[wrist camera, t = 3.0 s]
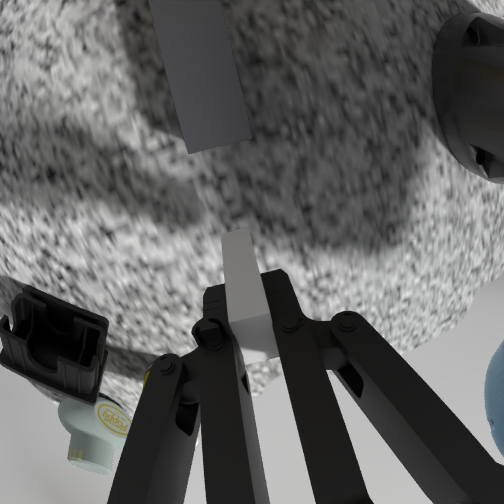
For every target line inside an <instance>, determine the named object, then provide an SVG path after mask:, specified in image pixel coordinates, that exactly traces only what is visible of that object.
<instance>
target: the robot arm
mask: <svg viewBox="0 0 504 504" xmlns="http://www.w3.org/2000/svg"><path fill="white" fill-rule="evenodd" d="M433 91H434V99H435V105H436V110H437V114H438V118H439V122H440V125H441V128H442V131H443V134H444V137H445V139H446V141H447V143H448V145H449V147H450V149H451V151H452V153H453V154H454V156H455V157H456V158H457V160H458V161H459V162H460V163H461V164H462V165H463V166H464V167H465V168H466V169H468V170H469V171H471V172H473V173H475V174H476V175H478V176H480V177H482V178H484V179H486V180H488V181H490V182H494V183H498V184H504V19H501V18H499V17H496V16H493V15H490V14H485V13H468V14H459V15H456V16H454V17H452V18H451V19H450V20H449V21H447V23H446V24H445V25H444V26H443V28H442V30H441V31H440V33H439V36H438V38H437V42H436V45H435V50H434V56H433ZM221 241H222V254H223V266H224V278H225V283H224V284H220V285H216V286H212V287H207V289H206V291H205V293H204V295H203V318H202V319H200V320H199V321H198V322H196V324H195V325H194V326H193V328H192V332H191V333H192V335H193V337H194V339H195V341H196V342H197V344H198V347H197V348H196V349H195V350H194V351H192V352H190V353H188V354H186V355H184V356H182V357H179V356H178V355H176V354H172V353H169V354H164V355H162V356H160V357H158V358H157V359H156V360H155V361H154V363H153V364H152V366H151V369H150V372H149V374H148V377H147V380H146V383H145V385H144V388H143V391H142V394H141V397H140V399H139V402H138V405H137V408H136V411H135V414H134V417H133V420H132V423H131V426H130V429H129V432H128V435H127V438H126V441H125V444H124V447H123V451H122V454H121V457H120V460H119V463H118V467H117V470H116V473H115V477H114V480H113V484H112V487H111V491H110V495H109V498H108V502H107V504H183V503H184V498H185V493H186V488H187V484H188V478H189V474H190V469H191V465H192V460H193V455H194V451H195V446H196V441H197V437H198V432H199V427H200V423H201V435H202V452H203V465H204V478H205V491H206V501H207V504H270V501H269V496H268V491H267V485H266V480H265V474H264V468H263V463H262V457H261V451H260V446H259V440H258V434H257V428H256V423H255V416H254V410H253V405H252V398H251V391H250V385H249V379H248V374H247V372H246V370H245V364H250V363H255V362H259V361H264V360H268V359H272V358H276V357H280V360H281V364H282V368H283V372H284V376H285V380H286V384H287V388H288V392H289V396H290V400H291V404H292V409H293V412H294V417H295V421H296V425H297V429H298V433H299V437H300V441H301V445H302V449H303V453H304V457H305V461H306V465H307V469H308V474H309V478H310V481H311V486H312V490H313V494H314V498H315V502H316V504H374V503H373V502H372V500H371V499H370V497H369V495H368V492H367V489H366V486H365V483H364V480H363V477H362V474H361V470H360V467H359V464H358V461H357V458H356V455H355V453H354V449H353V446H352V443H351V440H350V437H349V434H348V431H347V428H346V425H345V423H344V419H343V417H342V414H341V411H340V408H339V405H338V402H337V399H336V397H335V394H334V391H333V388H332V385H331V382H330V380H329V377H328V374H327V371H326V370H332V371H333V372H334V374H335V375H336V376H337V378H338V379H339V380H340V382H341V383H342V385H343V386H344V387H345V389H346V390H347V391H348V392H349V394H350V395H351V396H352V398H353V399H354V401H355V402H356V403H357V405H358V406H359V407H360V409H361V410H362V411H363V413H364V414H365V415H366V416H367V418H368V419H369V421H370V422H371V423H372V425H373V426H374V427H375V429H376V430H377V431H378V433H379V434H380V435H381V437H382V438H383V439H384V440H385V442H386V443H387V444H388V446H389V447H390V448H391V450H392V451H393V452H394V454H395V455H396V456H397V458H398V459H399V460H400V462H401V463H402V464H403V466H404V467H405V468H406V470H407V471H408V472H409V473H410V475H411V476H412V477H413V479H414V480H415V481H416V483H417V484H418V485H419V487H420V488H421V489H422V491H423V492H424V493H425V494H426V496H427V497H428V498H429V499H430V500H431V501H432V502H433V504H504V466H503V465H501V464H499V463H496V462H495V461H494V459H493V458H492V457H491V456H490V455H489V453H488V452H487V451H486V450H485V449H484V447H483V446H482V445H481V444H480V443H479V442H478V440H477V439H476V438H475V437H474V436H473V435H472V433H471V432H470V431H469V430H468V429H467V428H466V427H465V425H464V424H463V423H462V422H461V421H460V420H459V419H458V418H457V416H456V415H455V414H454V413H453V412H452V411H451V410H450V409H449V408H448V406H447V405H446V404H445V403H444V402H443V401H442V400H441V399H440V397H439V396H438V395H437V394H436V393H435V392H434V391H433V390H432V389H431V388H430V387H429V386H428V385H427V383H426V382H425V381H424V380H423V379H422V378H421V377H420V376H419V375H418V374H417V373H416V372H415V370H413V368H412V367H411V366H410V365H409V364H408V363H407V362H406V361H405V360H404V359H403V358H402V357H401V356H400V355H399V354H398V353H397V351H396V350H395V349H394V348H393V347H392V346H391V345H390V344H389V343H388V342H387V341H386V340H385V339H384V338H383V337H382V336H381V335H380V334H379V333H378V332H377V331H376V330H375V329H374V328H373V327H372V326H371V325H370V324H369V323H368V322H367V321H366V320H365V319H364V318H363V317H362V316H361V315H360V314H358V313H357V312H353V311H343V312H340V313H337V314H336V315H335V316H333V317H332V319H331V321H315V320H312V319H309V318H308V317H306V316H305V315H304V314H303V312H302V310H301V308H300V305H299V302H298V300H297V297H296V295H295V292H294V289H293V287H292V284H291V282H290V279H289V276H288V274H287V273H286V272H284V271H283V270H282V269H277V270H274V271H270V272H266V273H262V274H260V272H259V268H258V264H257V260H256V256H255V253H254V249H253V245H252V241H251V237H250V233H249V229H248V227H247V228H243V229H239V230H235V231H231V232H227V233H223V234H221ZM244 361H245V364H244ZM484 390H485V391H484V393H485V394H484V396H485V409H486V415H487V420H488V422H489V424H490V426H491V434H492V437H493V439H494V441H495V443H496V445H497V447H498V449H499V451H500V452H501V454H502V455H503V457H504V340H503V342H502V343H501V345H500V346H499V348H498V349H497V351H496V352H495V354H494V355H493V357H492V359H491V361H490V364H489V367H488V370H487V374H486V379H485V389H484Z"/></svg>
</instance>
